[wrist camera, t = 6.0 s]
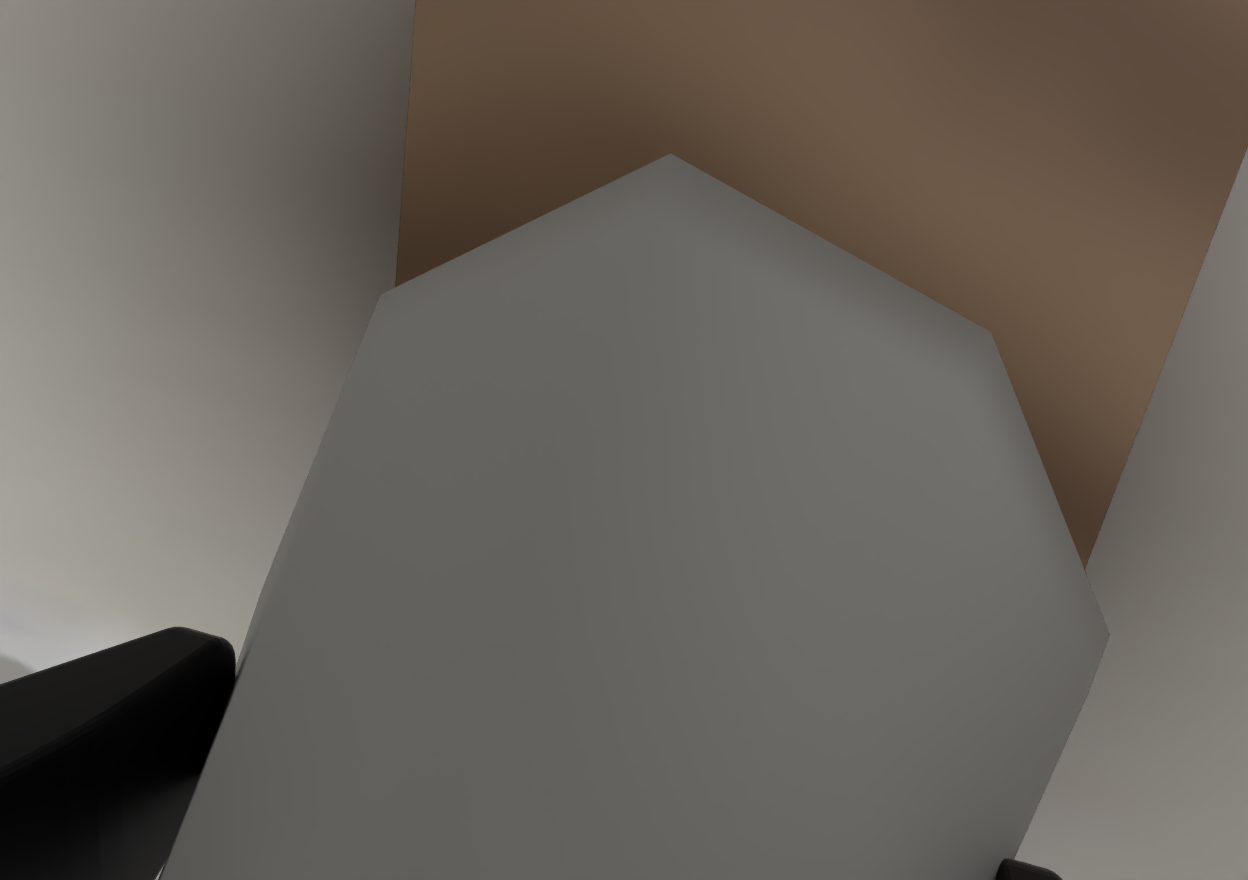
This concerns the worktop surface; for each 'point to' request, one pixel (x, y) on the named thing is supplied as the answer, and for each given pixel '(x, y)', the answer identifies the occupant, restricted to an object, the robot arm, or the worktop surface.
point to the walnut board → (879, 160)
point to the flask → (656, 576)
